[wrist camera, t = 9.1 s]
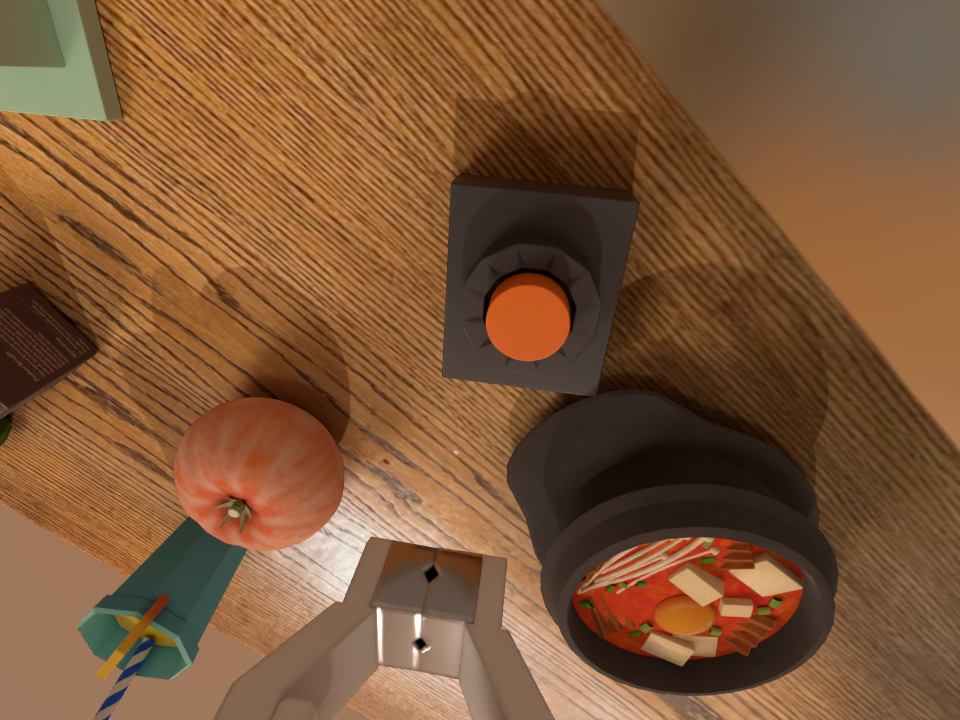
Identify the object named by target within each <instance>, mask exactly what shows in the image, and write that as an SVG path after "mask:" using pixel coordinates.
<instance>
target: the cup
mask: <svg viewBox="0 0 960 720" xmlns="http://www.w3.org/2000/svg"><path fill="white" fill-rule="evenodd" d="M246 550H247V549H246V548H244V547H241V546H238V545H231V544H227V543H225V542H223V541H221V540H219V539H218V538H216V537H214V536H213V535H211V534H209V533H208V532H206V531H205V530H204V529H203V528H202V527H201V526H200V524H199V523H198V522H196V521H195V520H194V519H192V518H191V517H190V516H189V517H188V518H187V519H186V520H185V521H184V522H183V523H182V524H181V525H180V526H179V527H178V528H177V529H176V530H175V531H174V532H173V533H172V534H171V535H170V536H169V537H168V538H167V539H166V540H165V541H164V543H163V544H162V545H161V546H160V547H159V548H158V549H157V550H156V551H155V552H154V553H153V554H152V555H151V556H150V557H149V558H148V559H147V560H146V561H145V562H144V563H143V564H142V565H141V566H140V567H139V568H138V569H137V570H136V571H135V572H134V573H133V574H132V575H131V576H130V577H129V578H128V579H127V580H126V581H125V582H124V583H123V584H122V585H121V586H120V587H119V588H118V589H117V590H116V591H115V592H114V594H113V595H106V596H105V597H104V598H103V599H102V600H101V601H100V602H99V603H98V604H97V605H96V606H95V607H94V608H93V609H92V610H91V611H90V612H89V613H88V614H87V615H86V616H85V617H84V618H83V619H82V620H81V621H80V622H79V623H78V624H77V627H78V630H79V632H80V633H81V635H82V636H83V638H84V639H85V641H86V642H87V644H88V646H89V647H90V649H91V650H92V652H93V654H94V655H96V656H98V657H99V658H101V659H103V660H105V661H106V663H105V664H104V665H103V667H102V668H101V669H100V670H99V671H98V673H97V674H96V676H97V677H99V678H101V679H103V680H105V679H106V678H107V676H108V675H109V674H110V673H111V671H112V670H113V669H114V668H115V667H118V668H119V669H122V670H123V672H122V674H121V675H120V677H119V679H118V680H117V682H116V683H115V685H114V687H113V688H112V690H111V691H110V693H109V695H108V696H107V698H106V700H105V701H104V703H103V704H102V706H101V708H100V709H99V711H98V712H97V714H96V716H95V717H94V719H93V720H108V719H109V717H110V716H111V714H112V712H113V711H114V709H115V707H116V706H117V704H118V702H119V701H120V699H121V697H122V696H123V694H124V692H125V691H126V689H127V687H128V686H129V684H130V682H131V681H132V679H133V677H134V676H135V675H136V676H144V677H152V678H159V679H167V680H169V679H172V678H174V677H175V676H177V675H178V674H179V673H181V672H182V671H183V670H185V669H186V668H188V667H189V666H190V665H192V663H193V661H194V659H195V657H196V655H197V653H198V651H199V647H198V645H197V644H198V642H199V641H200V638H201V636H202V635H203V633H204V631H205V629H206V627H207V625H208V623H209V621H210V619H211V617H212V616H213V614H214V612H215V610H216V608H217V606H218V604H219V602H220V600H221V598H222V596H223V594H224V593H225V591H226V589H227V587H228V585H229V583H230V581H231V579H232V577H233V575H234V573H235V571H236V570H237V568H238V566H239V564H240V562H241V560H242V558H243V556H244V554H245V552H246Z"/></svg>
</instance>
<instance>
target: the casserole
mask: <svg viewBox="0 0 960 720" xmlns="http://www.w3.org/2000/svg"><path fill="white" fill-rule="evenodd" d="M507 483H508V485H509V487H510V489H511V491H512V493H513V495H514V497H515V499H516V501H517V503H518V504H519V506H520V508H521V510H522V512H523V514H524V516H525V518H526V521H527V525H528V529H529V533H530V536H531V540H532V544H533V547H534V551H535V555H536V556H537V558H538V560H539V562H540V563H541V565H542V570H541V593H542V596H543V600H544V603H545V607H546V608H547V610H548V612H549V613H550V615H551V617H552V618H553V620H554V622H555V623H556V624H557V625H558V626H559V628H560V631H561V633H562V635H563V637H564V639H565V640H566V642H567V644H568V645H569V647H570V649H571V650H572V651H573V652H574V653H575V654H576V655H577V656H578V657H579V658H580V659H581V660H582V661H583V662H584V663H586V664H587V665H589V666H590V667H592V668H593V669H594V670H596V671H597V672H599V673H601V674H603V675H605V676H607V677H609V678H611V679H613V680H615V681H617V682H620V683H623V684H626V685H629V686H631V687H634V688H637V689H642V690H647V691H651V692H656V693H661V694H672V695H682V696H701V695H716V694H724V693H733V692H737V691H741V690H745V689H750V688H754V687H757V686H760V685H763V684H765V683H768V682H771V681H773V680H776V679H779V678H780V677H782V676H784V675H786V674H788V673H789V672H791V671H793V670H795V669H797V668H798V667H800V666H801V665H802V664H803V663H805V662H806V661H807V660H808V659H809V658H811V657H812V656H813V655H814V654H815V653H816V652H817V650H818V649H819V648H820V647H821V646H822V644H823V643H824V642H825V641H826V639H827V637H828V634H829V632H830V630H831V628H832V625H833V621H834V611H835V602H834V597H835V594H836V592H837V582H838V568H837V563H836V559H835V555H834V552H833V550H832V548H831V547H830V545H829V543H828V542H827V540H826V538H825V537H824V535H823V533H822V532H821V531H820V530H819V529H818V521H819V510H818V506H817V502H816V498H815V494H814V491H813V489H812V488H811V486H810V484H809V482H808V481H807V479H806V477H805V476H804V474H803V472H802V471H801V470H800V469H799V468H798V467H797V466H796V465H795V464H794V463H793V462H792V461H791V460H790V459H789V458H788V457H787V456H786V455H784V454H783V453H781V452H779V451H778V450H776V449H775V448H773V447H771V446H770V445H768V444H767V443H765V442H763V441H762V440H759V439H756V438H754V437H751V436H748V435H746V434H743V433H740V432H737V431H735V430H732V429H729V428H726V427H724V426H721V425H718V424H715V423H713V422H710V421H707V420H705V419H703V418H701V417H700V416H698V415H696V414H694V413H693V412H691V411H689V410H688V409H686V408H684V407H682V406H681V405H679V404H677V403H675V402H674V401H672V400H670V399H669V398H667V397H665V396H663V395H662V394H660V393H658V392H653V391H647V390H640V389H633V388H631V389H624V390H616V391H609V392H604V393H601V394H598V395H597V396H596V397H588V398H585V399H582V400H579V401H577V402H575V403H573V404H571V405H569V406H567V407H565V408H563V409H561V410H559V411H557V412H555V413H553V414H551V415H550V416H549V417H548V418H546V419H545V420H544V421H542V422H541V423H540V424H539V425H537V426H536V427H535V428H533V429H532V430H531V431H530V432H529V433H528V434H527V435H526V437H525V438H524V439H523V440H522V441H521V442H520V444H519V445H518V446H517V447H516V448H515V450H514V452H513V454H512V456H511V458H510V460H509V462H508V464H507Z"/></svg>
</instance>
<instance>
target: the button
mask: <svg viewBox="0 0 960 720" xmlns="http://www.w3.org/2000/svg"><path fill="white" fill-rule="evenodd" d="M486 329H487V333H488V336H489V338H490V340H491V341H492V343H493V344H494V346H495V347H496V348H497V349H498V350H499V351H501V352H502V353H503V354H505V355H507V356H508V357H511V358H513V359H516V360H521V361H536V360H540V359H544V358H546V357H549V356H550V355H552V354H554V353H555V352H556V351H558V350H559V349H560V348H561V346H562V345H563V344H564V343H565V341H566V339H567V337H568V334H569V331H570V310H569V302H568V299H567V296H566V294H565V292H564V290H563V289H562V288H561V286H560V285H559V284H558V283H557V282H555V281H554V280H553V279H551V278H549V277H547V276H545V275H542V274H538V273H529V272H528V273H520V274H516V275H513V276H511V277H509V278H507V279H506V280H504V281H503V282H502V283H501V284H500V285H499V286H498V287H497V288H496V290H495V291H494V293H493V295H492V297H491V300H490V304H489V307H488V311H487V315H486Z"/></svg>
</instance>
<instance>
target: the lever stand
mask: <svg viewBox="0 0 960 720" xmlns="http://www.w3.org/2000/svg"><path fill="white" fill-rule="evenodd" d="M0 111H9V112H19V113H29V114H39V115H49V116H59V117H69V118H79V119H89V120H99V121H115V120H123V116H122V112H121V108H120V104H119V100H118V96H117V92H116V87H115V83H114V79H113V75H112V71H111V67H110V63H109V59H108V54H107V50H106V46H105V42H104V38H103V34H102V30H101V26H100V21H99V17H98V13H97V9H96V5H95V1H94V0H0Z"/></svg>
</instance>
